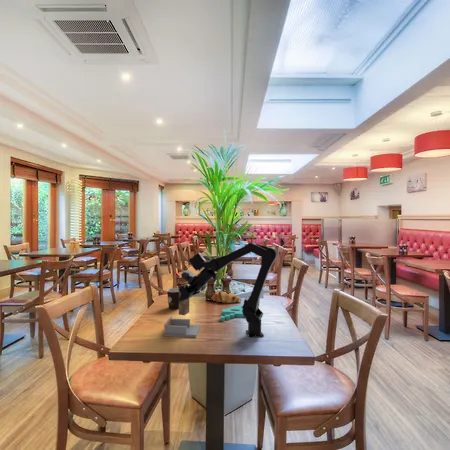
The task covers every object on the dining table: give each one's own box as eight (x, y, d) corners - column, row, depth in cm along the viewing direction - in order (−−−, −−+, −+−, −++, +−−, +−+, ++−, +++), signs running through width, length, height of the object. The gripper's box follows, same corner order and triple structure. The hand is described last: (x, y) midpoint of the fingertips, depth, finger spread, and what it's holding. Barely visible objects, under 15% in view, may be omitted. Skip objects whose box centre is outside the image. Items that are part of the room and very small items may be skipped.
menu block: (189, 312, 138) (189, 289, 138) (184, 315, 133) (184, 291, 133) (183, 311, 139) (183, 288, 139) (178, 314, 134) (178, 291, 134)
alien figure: (261, 323, 138) (260, 310, 158) (261, 319, 138) (260, 306, 158) (220, 321, 140) (224, 309, 160) (220, 317, 140) (224, 305, 160)
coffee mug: (165, 306, 162) (165, 289, 161) (180, 304, 165) (180, 287, 165) (170, 312, 151) (170, 294, 151) (185, 310, 155) (186, 292, 154)
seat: (199, 327, 131) (200, 316, 131) (196, 337, 120) (196, 325, 120) (169, 326, 132) (169, 315, 132) (163, 336, 121) (163, 324, 121)
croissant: (241, 306, 174) (243, 293, 178) (240, 303, 165) (241, 289, 169) (208, 303, 178) (210, 291, 182) (204, 300, 170) (206, 286, 173)
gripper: (200, 262, 143) (180, 282, 147) (182, 268, 125) (160, 290, 129) (214, 279, 140) (194, 299, 144) (198, 287, 123) (175, 310, 127)
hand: (181, 299), depth 136 cm, fingers closed on menu block, 5 cm apart
